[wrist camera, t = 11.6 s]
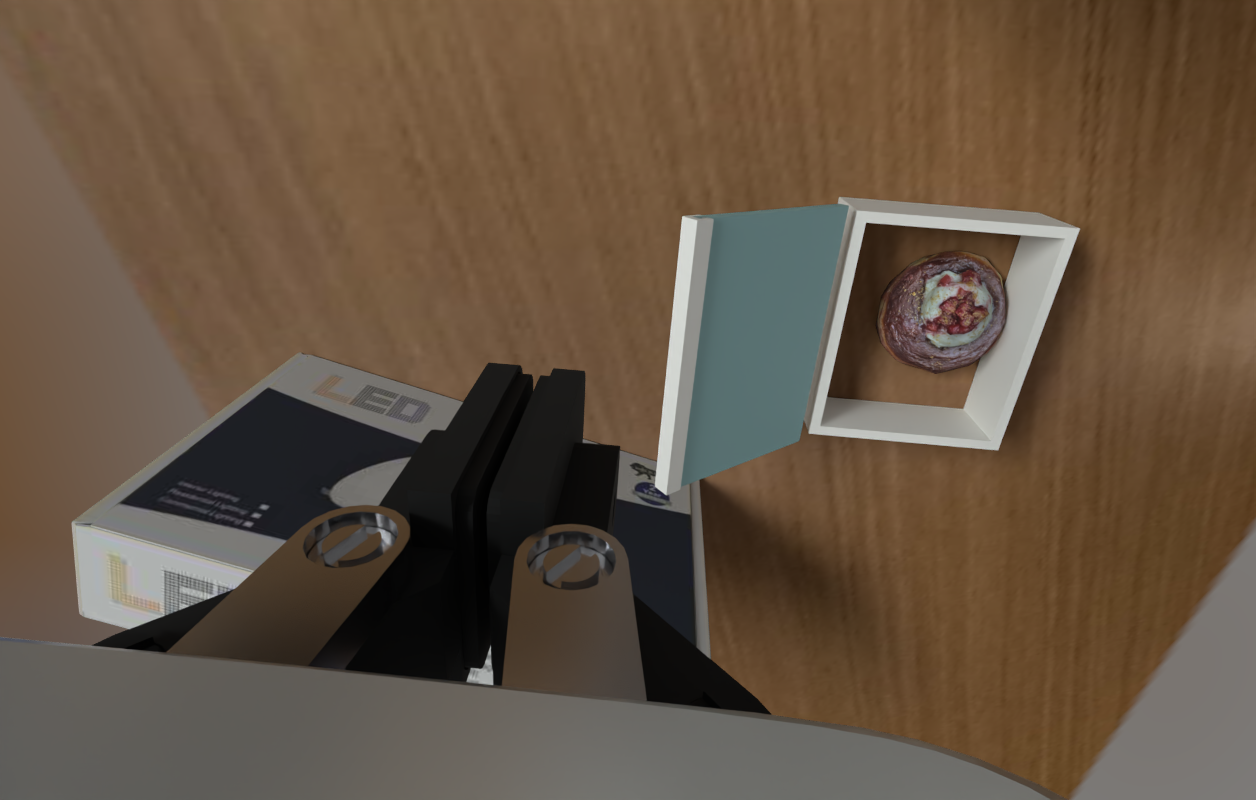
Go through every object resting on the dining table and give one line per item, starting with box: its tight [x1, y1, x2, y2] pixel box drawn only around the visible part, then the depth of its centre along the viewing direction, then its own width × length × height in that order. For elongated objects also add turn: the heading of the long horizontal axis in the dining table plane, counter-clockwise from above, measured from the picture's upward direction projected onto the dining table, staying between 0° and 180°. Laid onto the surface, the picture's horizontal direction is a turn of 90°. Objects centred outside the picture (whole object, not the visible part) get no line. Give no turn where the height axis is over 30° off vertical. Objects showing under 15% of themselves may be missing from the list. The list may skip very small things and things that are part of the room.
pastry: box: [876, 251, 1006, 374], centre depth 41 cm, size 8×8×5 cm
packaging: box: [72, 352, 711, 685], centre depth 41 cm, size 30×6×20 cm, turn 72°
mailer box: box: [804, 197, 1080, 450], centre depth 41 cm, size 14×12×4 cm
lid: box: [655, 204, 849, 495], centre depth 36 cm, size 15×11×1 cm
